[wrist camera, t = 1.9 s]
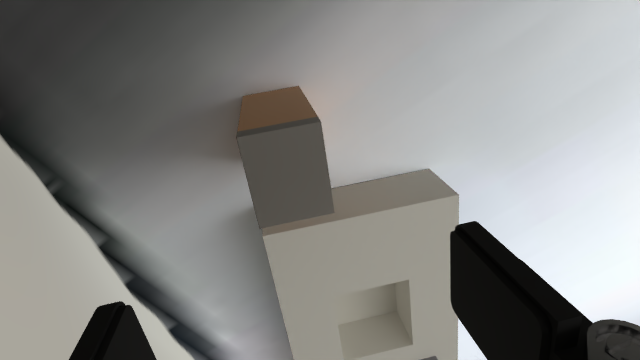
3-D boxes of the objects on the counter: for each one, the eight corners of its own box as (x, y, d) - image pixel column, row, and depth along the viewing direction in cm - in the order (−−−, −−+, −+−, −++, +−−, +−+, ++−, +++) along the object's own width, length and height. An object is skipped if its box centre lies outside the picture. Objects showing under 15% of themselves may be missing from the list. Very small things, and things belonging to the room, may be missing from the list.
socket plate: (261, 202, 30) (262, 241, 25) (429, 168, 31) (463, 198, 26) (303, 374, 38) (310, 429, 33) (434, 342, 39) (460, 390, 34)
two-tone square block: (242, 95, 26) (236, 137, 17) (298, 85, 27) (321, 121, 18) (258, 161, 29) (259, 228, 19) (309, 151, 29) (334, 213, 20)
